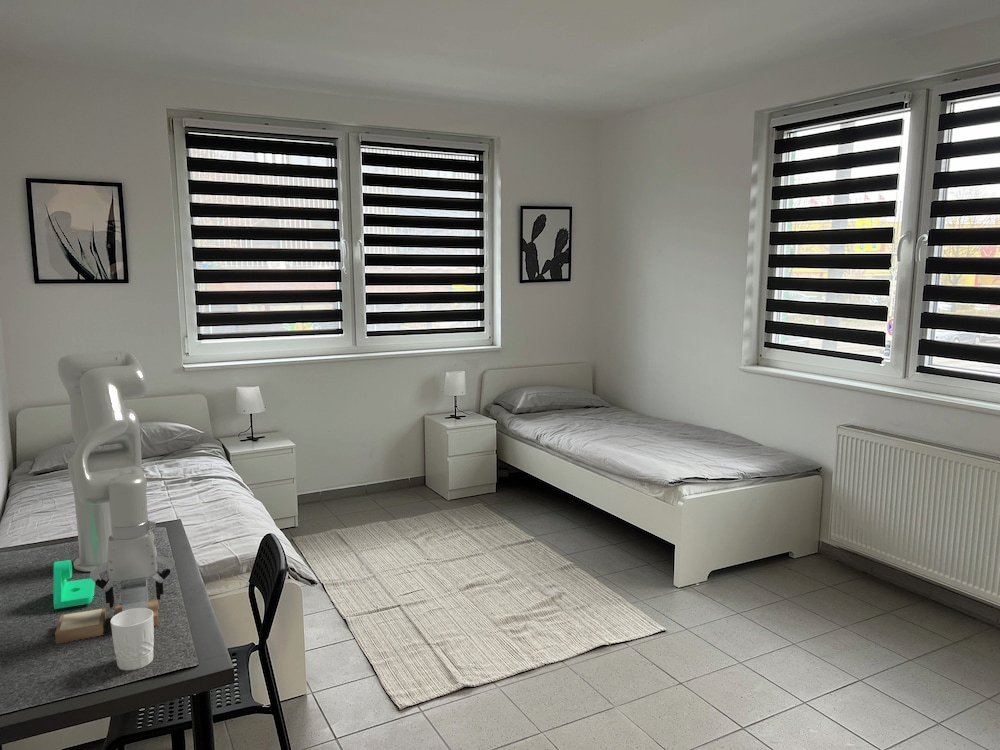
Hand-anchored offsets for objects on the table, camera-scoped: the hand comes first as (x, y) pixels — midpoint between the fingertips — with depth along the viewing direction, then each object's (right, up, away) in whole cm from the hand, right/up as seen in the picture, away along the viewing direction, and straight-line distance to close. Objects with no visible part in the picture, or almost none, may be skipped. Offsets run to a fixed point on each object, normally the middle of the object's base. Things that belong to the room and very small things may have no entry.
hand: (135, 601), depth 166 cm
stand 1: (-10, -5, -4) cm, 12 cm away
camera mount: (-20, -3, +11) cm, 24 cm away
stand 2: (0, -5, +1) cm, 5 cm away
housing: (0, -2, +1) cm, 2 cm away
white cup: (+8, -8, -16) cm, 19 cm away
